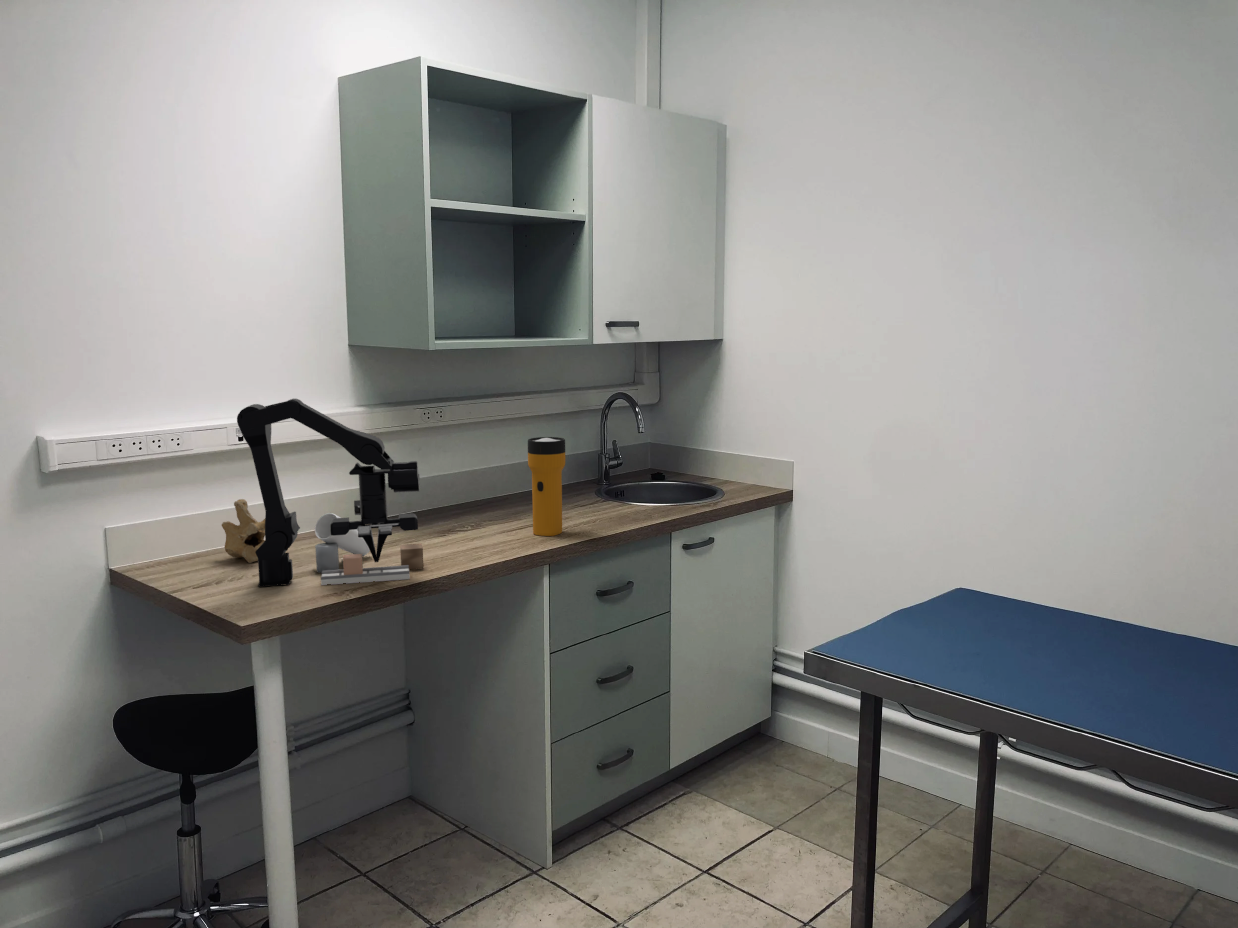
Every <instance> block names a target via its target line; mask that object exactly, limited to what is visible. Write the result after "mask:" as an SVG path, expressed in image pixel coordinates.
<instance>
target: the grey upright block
mask: <svg viewBox="0 0 1238 928" xmlns="http://www.w3.org/2000/svg"><path fill="white" fill-rule="evenodd" d="M315 563H316V564H315V565H316V573H319V574H320V573H321V574H322V571H327V570H340V559H339V548H338V544H337V543H326V542H320V543H317V544H315Z"/></svg>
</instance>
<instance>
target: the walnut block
mask: <svg viewBox="0 0 1238 928" xmlns="http://www.w3.org/2000/svg"><path fill="white" fill-rule="evenodd" d="M399 546H400V550H399V551H400V566H403V565H409V571H411V570H410V569H414V570H424V567H425V566H424V548H423V547H424V546H423V543H404V544H403V543H402V544H400V545H399Z"/></svg>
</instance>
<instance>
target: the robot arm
mask: <svg viewBox="0 0 1238 928" xmlns="http://www.w3.org/2000/svg"><path fill="white" fill-rule="evenodd" d="M289 419H292V420H295V421H296V422H298V423H300V424H302V425H304V426H305V427H307V428H309V429H310V430H313V431H315V432H316V433H319V434H320V435H322V436H324V437H325V438H327V439H329V440H331V441H333V442H335V443H337V444H339V445H340V446H341V447H342V448H344V449H345V450H346V451H347V452H348V453H349V454H350V455H351V456H352V457H354V458H355V459H357V461H358V462H356V463H355V465H354V467H352V468H351V469H350V470H349V472H348V474H349V475H350V476H355V475H356V476H357V475H358V487H359V489H358V490H359V500H358V499H357V500H354V501H353V507H354V511H353V512H354V515H355V516H360V520H352V521H351V520H350V517H341V518H334V519H333V520H332V521H331V525H330V526H331V535H333V536H334V535H346V534H347V533H348V532H349V530H355V529H357V531H358V537H362V538H363V539H364V540H365V542H366V544H367V545H368V547H369V549H370V551H369V553H370V554H371V557H372V559H373V562H374V563H379V561H380V558H381V554H382V551H383V549H384V548H383V547H384V545H385V543H386V539H387V538H388V537H389V536H392V535H393V530H392V529H393V528H398V527H399V528H400V529H401V530H402V531H403V532H405V531H406V532H407V531H417V530H419V522H418V515H417V514H415V513H414V512H413V513H411V512H410V513H399V514H398V518H388V506H387V504H388V502H387V489H386V488H387V486H386V485H387V484H388V489H390V490H392V491H393V493H413V492H415V493H417V492H420V489H421V488H420V487H421V486H420V484H421V482H420V473H419V466H418V461H417V460H411V461H408V462H407V461H406V462H405V461H402V462H395V461H394V459H392V457H391V456H390V455H389V454H388V453H387V451H386V450H385V449H386V448H385V444H384V442H383V440H382V439H381V438H379V437H377V436H375V435H373V434H370V433H367V432H363V431H361V430H355V429H353V428H350V427H347V426H346V425H344V424H342V423H341V422H339V421H337V420H335V419H333V418H332V417H329V416H328V415H326V414H324V413H322V412H321V411H319V410H316V409H315V408H313V407H311V406H310V405H307V404H305V403H304V402H303V401H302V400H301V399H298V398H290V399H288V400H286V401H281V402H278V403H273V404H270V405H269V404H268V405H263V404H260V403H255V404H254V403H253V404H250V405H248V406H246V407H243V408H242V409H241V410H240V411H239V413H238V414H237V415H236V423H237V426H238V428H239V430H240V432H241V435H242V437H243V439H244V441H245V442H246V444H247V446H248V447H249V448H250V451H251V455H252V460H253V464H254V469H255V472H256V477H257V481H258V486H259V489H260V493H261V497H262V503H263V507H264V511H265V516H264V519H265V536H264V542H263V543H262V545H261V546H260V547H259V548H258V549H257V550H256V552H255V553H256V555H257V557H258V561H257V565H258V585H257V587H258V588H260V587H261V588H262V587H273V586H286V585H287V586H288V585H290V584H291V581H292V580H293V579H294V571H293V560H292V559H291V558H290V552H288V550H289V548H290V547H291V546H292V545H293V543H294V542H295V541H296V539H297V538H298V534H299V531H300V529H301V526H300V525H299V524H298V521H297V511H292V512H290V511H289V510H288V508H287V506H286V505H285V501H284V496H283V491H282V488H281V482H280V478H279V475H278V471H277V465H276V462H275V458H274V452H273V448H272V444H271V443H272V424H275V423H278V422H283V421H285V420H289ZM359 462H360V463H361V464H363V465H361V464H360V463H359ZM386 475H387V484H386ZM373 529H378V530H377V541H376V543H377V544H376V546H375V540H374V536H373Z"/></svg>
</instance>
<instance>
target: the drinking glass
mask: <svg viewBox="0 0 1238 928" xmlns="http://www.w3.org/2000/svg"><path fill="white" fill-rule="evenodd" d="M334 518H342V517H341V516H339V515H337V514H335V513H332V512H327V513H324V514H323V515H321V516H320V517H319V518H318V520H317V521H316V523H315V526H314V535H315V536H316V537H317V539H319V540H320V541H322V542H323V543H337V544H338V549H340V550H343V551H345V552H347V553H350V554H362V557H364V556H366V555H367V554H369V553H370V549H369V547H368V545H367V544H366V542H365V540H364V539H363V538H362V537H358V531H357V529H355V530H349V532H348V533H347V534H346V535H334V536H333V535H331V526H330V525H331V521H332V520H333V519H334Z"/></svg>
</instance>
